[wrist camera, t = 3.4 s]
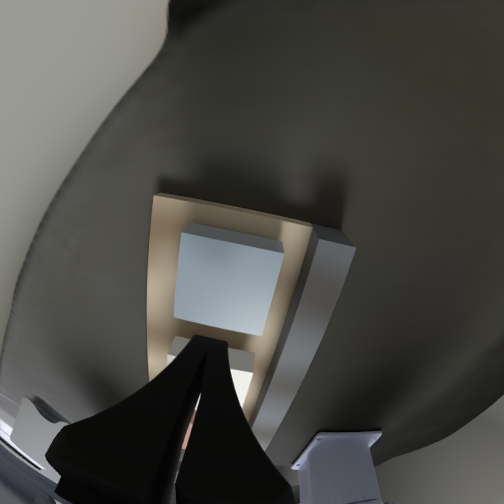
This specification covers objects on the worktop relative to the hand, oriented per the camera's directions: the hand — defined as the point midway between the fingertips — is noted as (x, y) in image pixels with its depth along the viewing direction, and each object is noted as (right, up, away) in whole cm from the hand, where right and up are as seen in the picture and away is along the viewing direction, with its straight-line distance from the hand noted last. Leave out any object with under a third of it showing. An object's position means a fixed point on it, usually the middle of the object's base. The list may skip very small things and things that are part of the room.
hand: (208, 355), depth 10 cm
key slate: (0, +3, +5) cm, 6 cm away
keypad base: (0, -3, +9) cm, 10 cm away
